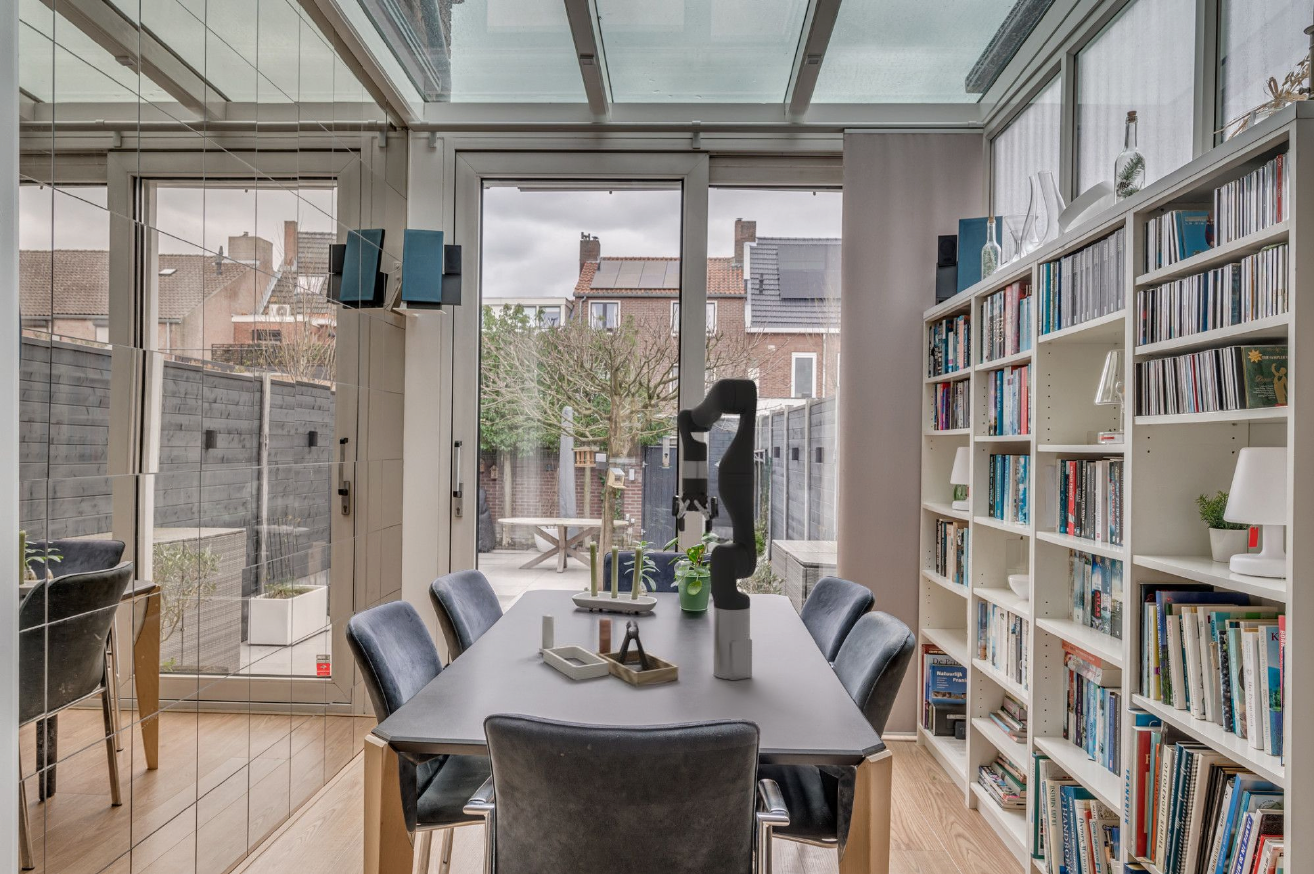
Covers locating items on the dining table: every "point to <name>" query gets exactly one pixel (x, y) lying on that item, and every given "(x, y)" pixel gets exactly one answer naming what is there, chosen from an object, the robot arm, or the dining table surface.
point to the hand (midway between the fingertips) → (694, 532)
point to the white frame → (569, 655)
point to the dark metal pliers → (626, 642)
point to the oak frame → (663, 668)
